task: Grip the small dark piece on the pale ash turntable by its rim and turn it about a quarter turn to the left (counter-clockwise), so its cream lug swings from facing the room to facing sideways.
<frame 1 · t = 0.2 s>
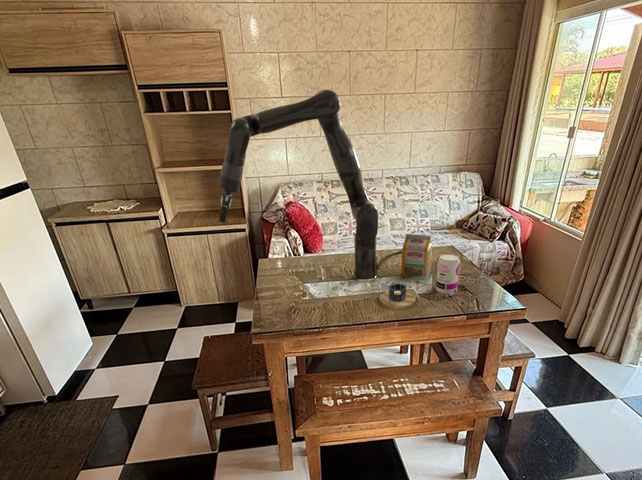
hand: (222, 219, 155), 31 cm above the table, tool tilted 20°, fingers open, 8 cm apart
dark piece: (397, 293, 156), point 4 cm above the table, hinge at 0.0°
turntable: (397, 301, 158), on the table
supplement can: (445, 293, 164), on the table
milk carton: (415, 277, 180), on the table
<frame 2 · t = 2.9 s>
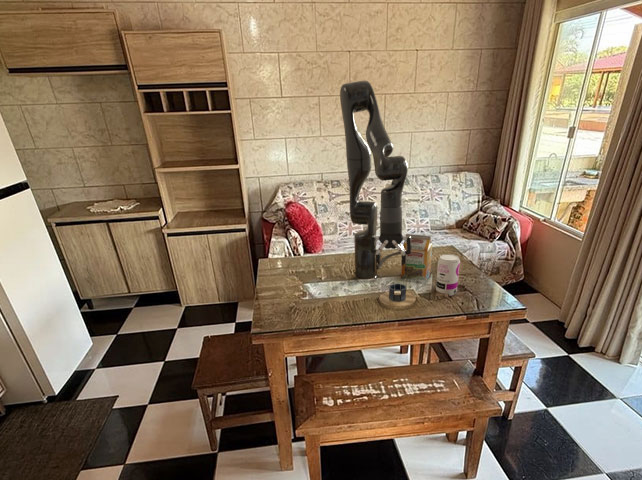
hand: (390, 264, 147), 17 cm above the table, tool pointing down, fingers open, 8 cm apart
nothing on the table moved.
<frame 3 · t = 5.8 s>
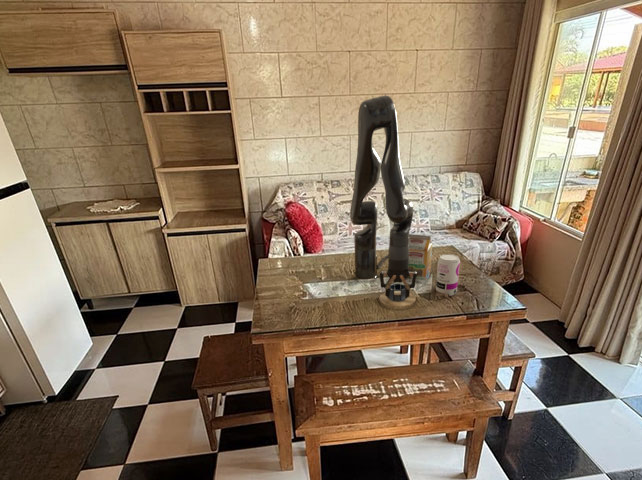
hand: (397, 297, 157), 2 cm above the table, tool pointing down, fingers closed on dark piece, 6 cm apart
dark piece: (397, 293, 156), point 4 cm above the table, hinge at -0.1°, touching gripper
everything else where it was.
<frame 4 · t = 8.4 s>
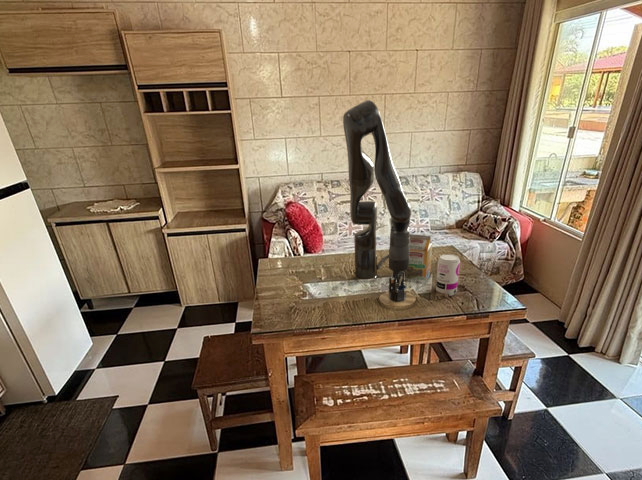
hand: (397, 297, 157), 2 cm above the table, tool pointing down, fingers closed on dark piece, 6 cm apart
dark piece: (399, 293, 156), point 4 cm above the table, hinge at 65.2°, touching gripper
everything else where it was.
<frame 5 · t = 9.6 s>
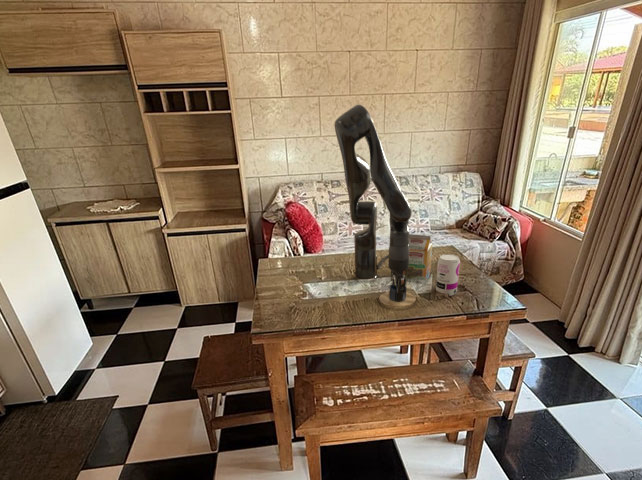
hand: (397, 297, 157), 2 cm above the table, tool pointing down, fingers closed on dark piece, 6 cm apart
dark piece: (400, 292, 157), point 4 cm above the table, hinge at 102.4°, touching gripper
everything else where it was.
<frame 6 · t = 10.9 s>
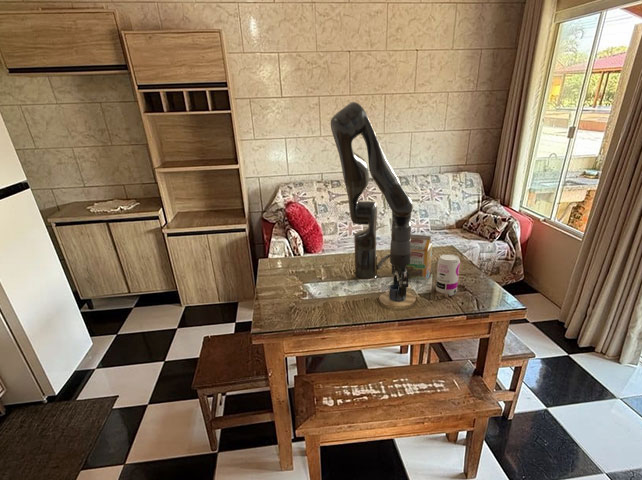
hand: (399, 291, 157), 4 cm above the table, tool pointing down, fingers open, 8 cm apart
dark piece: (400, 292, 157), point 4 cm above the table, hinge at 104.2°
everything else where it was.
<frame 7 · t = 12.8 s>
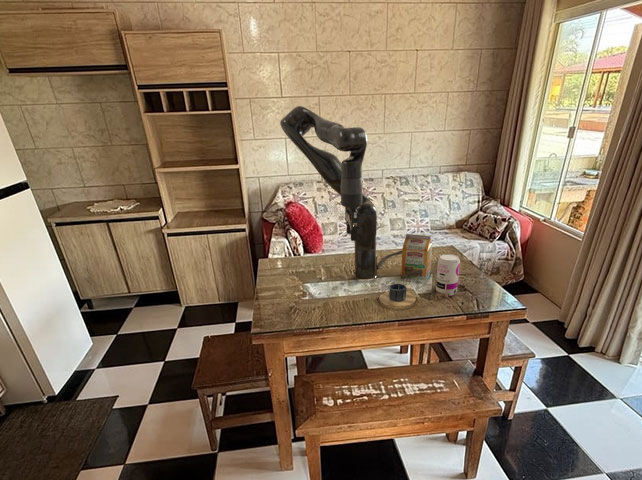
hand: (351, 237, 149), 25 cm above the table, tool pointing down, fingers open, 8 cm apart
nothing on the table moved.
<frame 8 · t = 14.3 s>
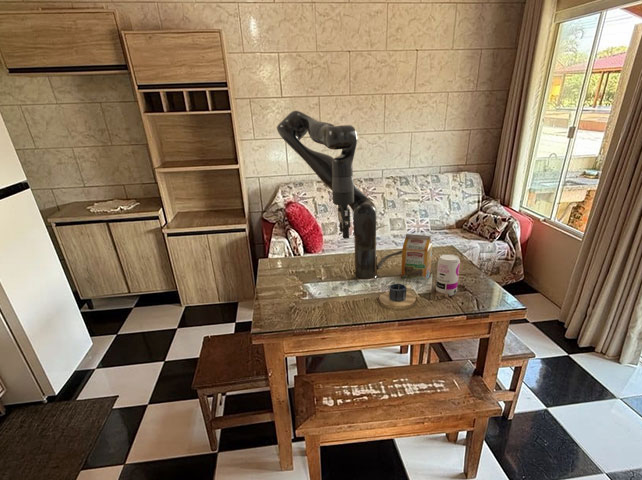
hand: (344, 234, 150), 26 cm above the table, tool pointing down, fingers open, 8 cm apart
nothing on the table moved.
at the end: dark piece at +104° (first picture: +0°); the gripper is holding nothing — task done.
